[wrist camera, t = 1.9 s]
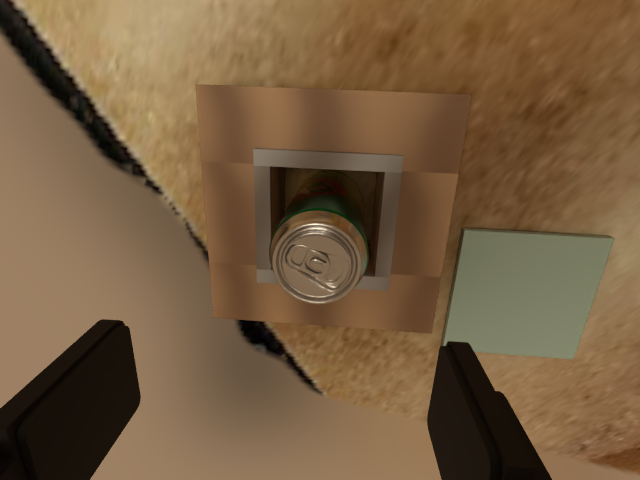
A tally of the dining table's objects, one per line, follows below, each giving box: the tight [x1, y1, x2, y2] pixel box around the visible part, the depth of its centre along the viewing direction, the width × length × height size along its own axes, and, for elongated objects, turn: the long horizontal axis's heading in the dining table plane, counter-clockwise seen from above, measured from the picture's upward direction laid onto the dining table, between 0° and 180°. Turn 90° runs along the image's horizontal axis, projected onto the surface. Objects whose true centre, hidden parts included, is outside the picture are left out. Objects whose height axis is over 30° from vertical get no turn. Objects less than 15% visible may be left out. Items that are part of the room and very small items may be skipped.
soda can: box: [269, 171, 369, 304], centre depth 23 cm, size 5×5×12 cm
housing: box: [196, 84, 472, 333], centre depth 26 cm, size 16×16×6 cm
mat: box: [441, 228, 614, 359], centre depth 30 cm, size 11×11×1 cm
